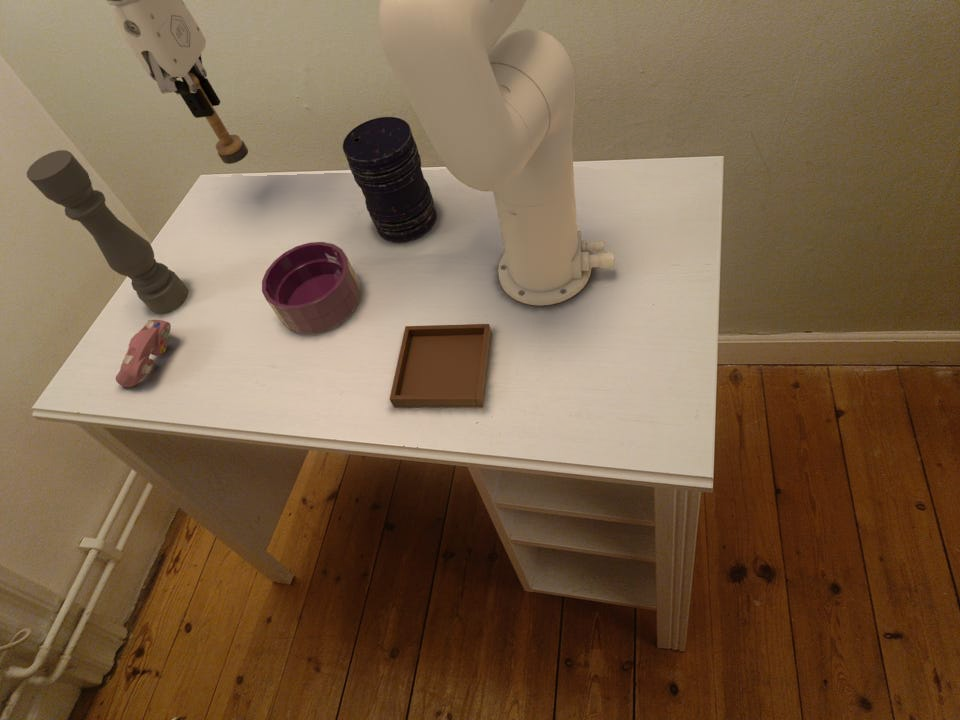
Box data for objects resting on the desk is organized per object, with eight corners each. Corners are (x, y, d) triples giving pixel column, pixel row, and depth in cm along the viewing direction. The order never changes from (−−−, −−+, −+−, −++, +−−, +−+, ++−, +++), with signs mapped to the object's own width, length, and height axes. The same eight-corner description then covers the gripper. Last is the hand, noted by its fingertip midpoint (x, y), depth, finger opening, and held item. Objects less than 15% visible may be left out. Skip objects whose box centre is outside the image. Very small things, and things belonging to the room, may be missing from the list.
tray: (491, 333, 79) (489, 323, 78) (483, 407, 73) (480, 399, 71) (409, 335, 82) (405, 326, 80) (394, 407, 75) (389, 399, 74)
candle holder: (196, 288, 95) (83, 152, 75) (170, 317, 92) (46, 184, 72) (167, 280, 97) (51, 146, 77) (141, 308, 94) (14, 177, 74)
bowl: (369, 269, 90) (356, 239, 86) (351, 335, 83) (335, 306, 79) (294, 272, 93) (276, 244, 88) (270, 337, 86) (250, 310, 81)
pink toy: (148, 397, 86) (139, 374, 80) (115, 387, 85) (103, 363, 79) (181, 340, 91) (174, 315, 85) (150, 331, 90) (141, 304, 85)
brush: (251, 145, 99) (206, 64, 88) (243, 162, 96) (194, 82, 85) (227, 148, 100) (179, 69, 89) (218, 165, 97) (167, 86, 86)
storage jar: (441, 197, 97) (416, 112, 85) (433, 241, 91) (405, 157, 79) (381, 202, 99) (349, 120, 87) (370, 245, 93) (334, 164, 81)
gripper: (126, 4, 72) (211, 140, 86) (178, -54, 81) (247, 78, 95) (73, 14, 73) (165, 145, 88) (130, -45, 82) (205, 84, 97)
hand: (207, 109), depth 91 cm, fingers closed on brush, 2 cm apart
